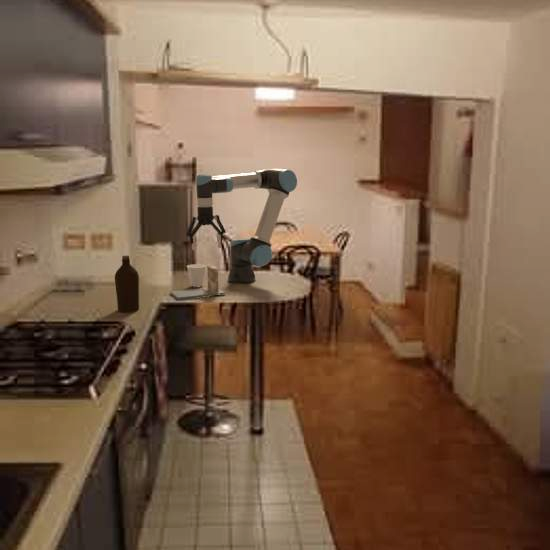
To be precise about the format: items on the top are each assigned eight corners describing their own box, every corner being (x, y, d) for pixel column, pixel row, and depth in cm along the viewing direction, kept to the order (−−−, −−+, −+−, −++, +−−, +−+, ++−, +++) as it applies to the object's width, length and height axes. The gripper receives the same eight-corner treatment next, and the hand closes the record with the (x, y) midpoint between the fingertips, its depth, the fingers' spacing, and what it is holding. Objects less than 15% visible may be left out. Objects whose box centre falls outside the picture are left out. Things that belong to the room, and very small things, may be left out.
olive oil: (137, 313, 277) (134, 258, 272) (113, 313, 277) (110, 258, 272) (142, 307, 287) (140, 254, 282) (120, 306, 288) (117, 253, 282)
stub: (216, 289, 321) (215, 264, 319) (225, 294, 309) (224, 269, 306) (201, 290, 318) (200, 265, 315) (209, 296, 306) (209, 270, 303)
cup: (207, 284, 333) (207, 264, 330) (203, 288, 323) (203, 268, 321) (189, 284, 334) (189, 264, 331) (185, 288, 324) (184, 267, 322)
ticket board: (201, 290, 318) (200, 287, 318) (209, 297, 306) (209, 293, 305) (170, 294, 312) (170, 290, 311) (177, 300, 299) (177, 297, 299)
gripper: (225, 204, 313) (226, 245, 317) (178, 207, 302) (180, 249, 307) (231, 205, 306) (232, 247, 311) (183, 208, 295) (185, 252, 300)
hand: (206, 248), depth 309 cm, fingers open, 13 cm apart
